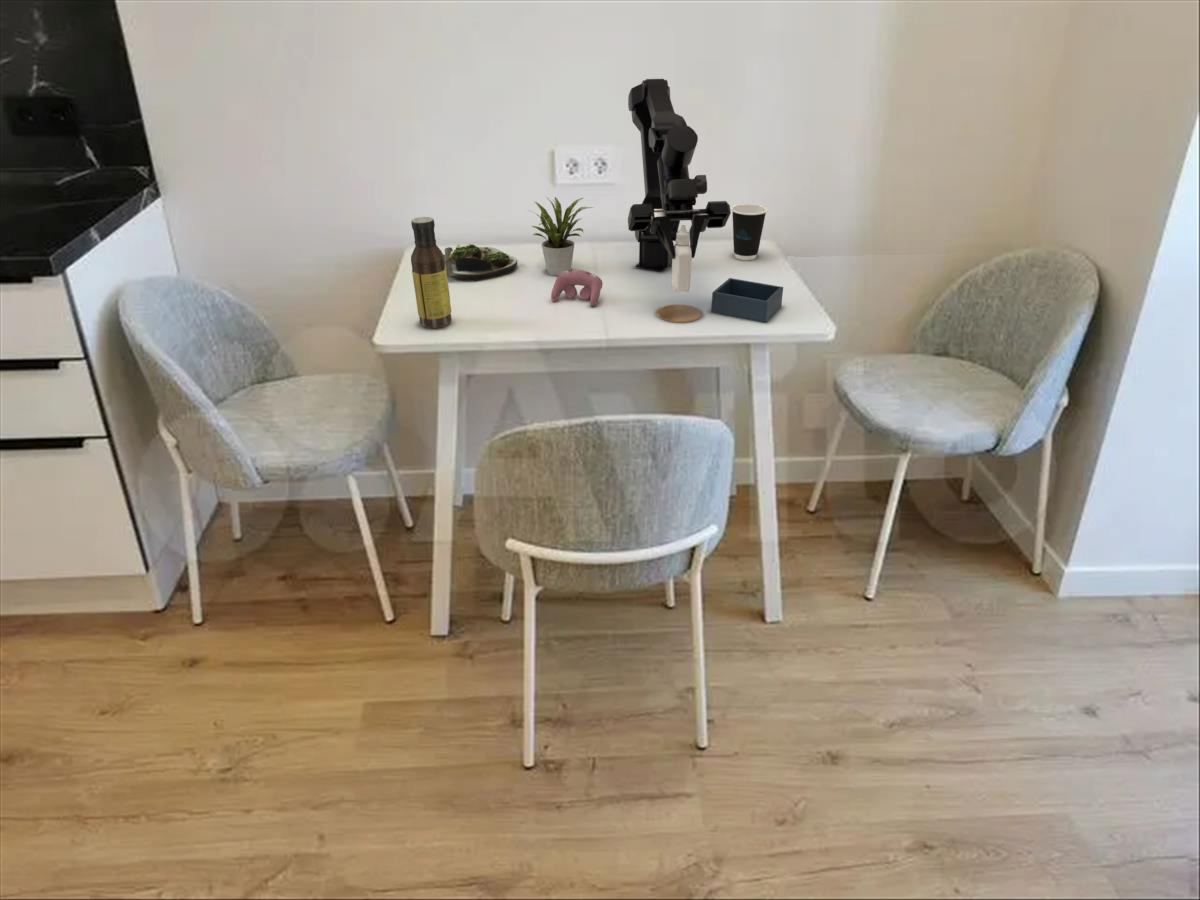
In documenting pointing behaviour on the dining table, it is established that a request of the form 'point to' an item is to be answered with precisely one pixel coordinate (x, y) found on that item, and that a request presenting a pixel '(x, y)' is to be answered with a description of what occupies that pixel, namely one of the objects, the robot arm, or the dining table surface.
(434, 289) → the sauce bottle
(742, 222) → the dixie cup
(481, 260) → the salad plate
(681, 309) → the coaster
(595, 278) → the video game controller
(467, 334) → the dining table surface
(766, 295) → the tub
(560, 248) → the house plant
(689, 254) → the eye dropper bottle
